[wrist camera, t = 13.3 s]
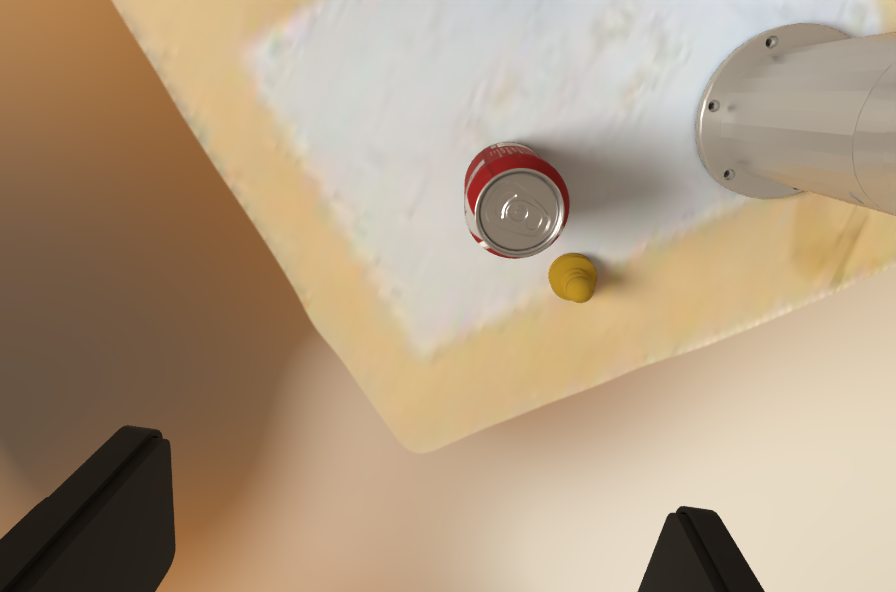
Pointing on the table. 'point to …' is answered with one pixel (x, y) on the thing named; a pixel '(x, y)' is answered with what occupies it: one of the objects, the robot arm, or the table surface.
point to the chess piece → (573, 277)
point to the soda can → (514, 201)
